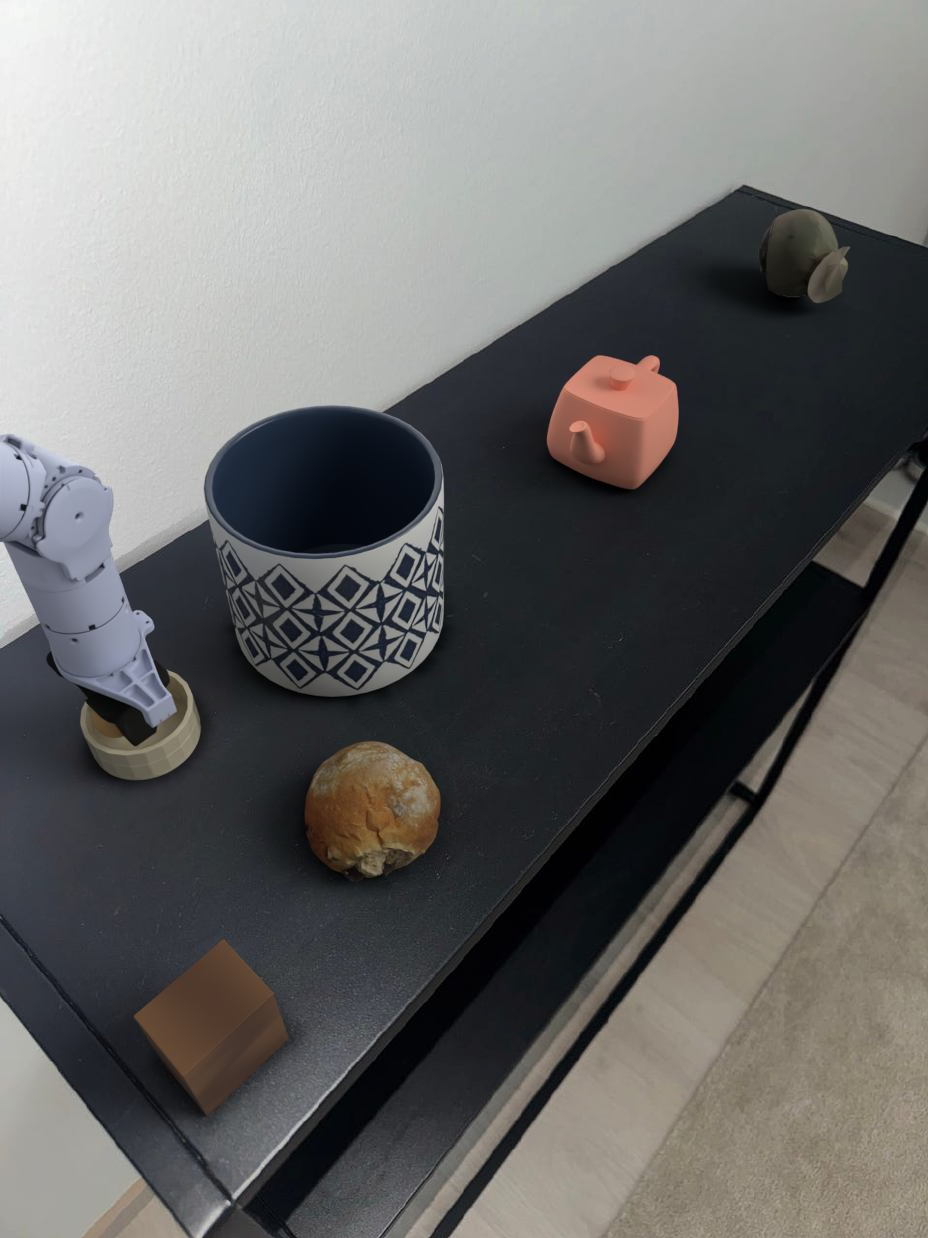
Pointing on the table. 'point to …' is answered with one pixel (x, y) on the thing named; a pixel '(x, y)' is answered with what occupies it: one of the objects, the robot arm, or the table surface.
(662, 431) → the teapot
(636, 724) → the table surface
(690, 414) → the table surface
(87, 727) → the bowl
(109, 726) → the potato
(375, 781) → the bread roll
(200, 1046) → the block
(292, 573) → the planter
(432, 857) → the table surface
